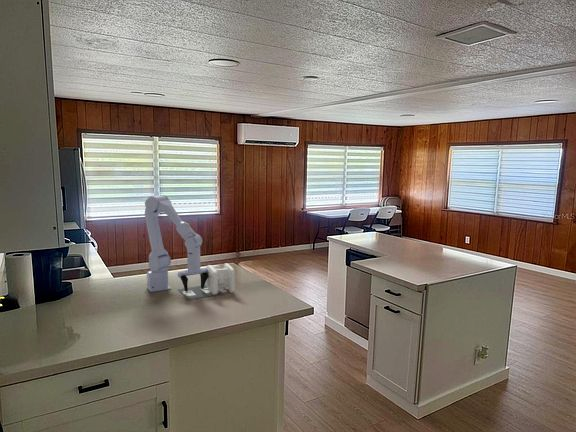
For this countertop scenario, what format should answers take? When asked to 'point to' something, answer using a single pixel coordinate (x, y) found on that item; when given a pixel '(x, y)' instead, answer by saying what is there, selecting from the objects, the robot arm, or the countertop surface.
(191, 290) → the label mat
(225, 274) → the cable organizer
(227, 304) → the countertop surface
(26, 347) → the countertop surface
